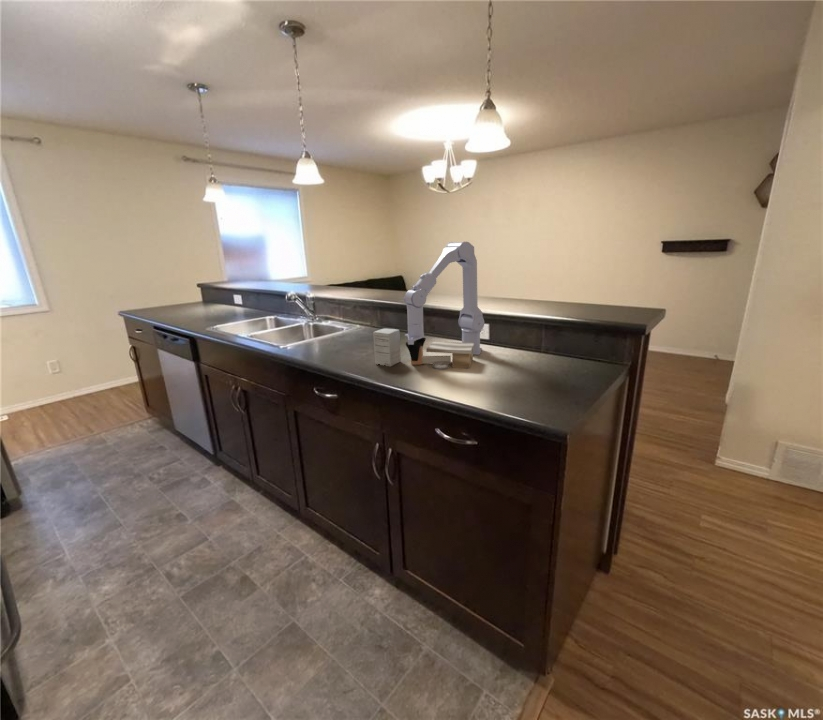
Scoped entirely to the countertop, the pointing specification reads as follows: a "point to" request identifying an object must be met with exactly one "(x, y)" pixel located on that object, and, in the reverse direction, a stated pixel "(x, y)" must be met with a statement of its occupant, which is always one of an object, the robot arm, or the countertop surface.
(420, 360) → the blade tool
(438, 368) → the disc
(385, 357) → the grey drawer cabinet
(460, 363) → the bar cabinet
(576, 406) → the countertop surface
